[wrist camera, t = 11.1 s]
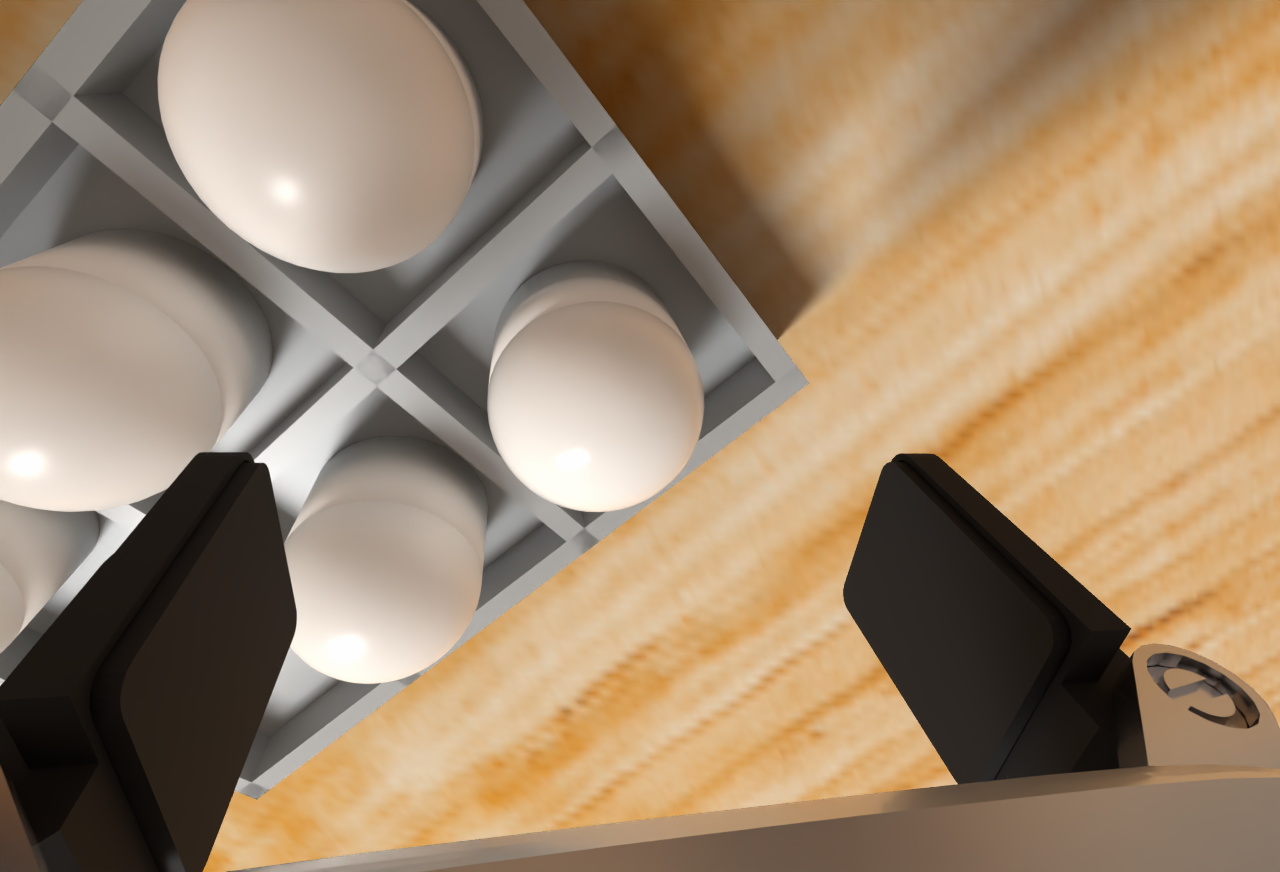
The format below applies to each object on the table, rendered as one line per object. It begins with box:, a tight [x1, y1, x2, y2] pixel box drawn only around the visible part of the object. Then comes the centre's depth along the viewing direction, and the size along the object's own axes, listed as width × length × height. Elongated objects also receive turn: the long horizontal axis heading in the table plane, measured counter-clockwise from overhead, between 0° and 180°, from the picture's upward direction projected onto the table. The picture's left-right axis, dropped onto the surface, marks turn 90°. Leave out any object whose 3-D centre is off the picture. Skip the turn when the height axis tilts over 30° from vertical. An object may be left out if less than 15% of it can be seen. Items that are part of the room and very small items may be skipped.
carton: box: [0, 0, 809, 799], centre depth 14 cm, size 20×14×6 cm
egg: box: [487, 261, 704, 512], centre depth 14 cm, size 4×4×5 cm
